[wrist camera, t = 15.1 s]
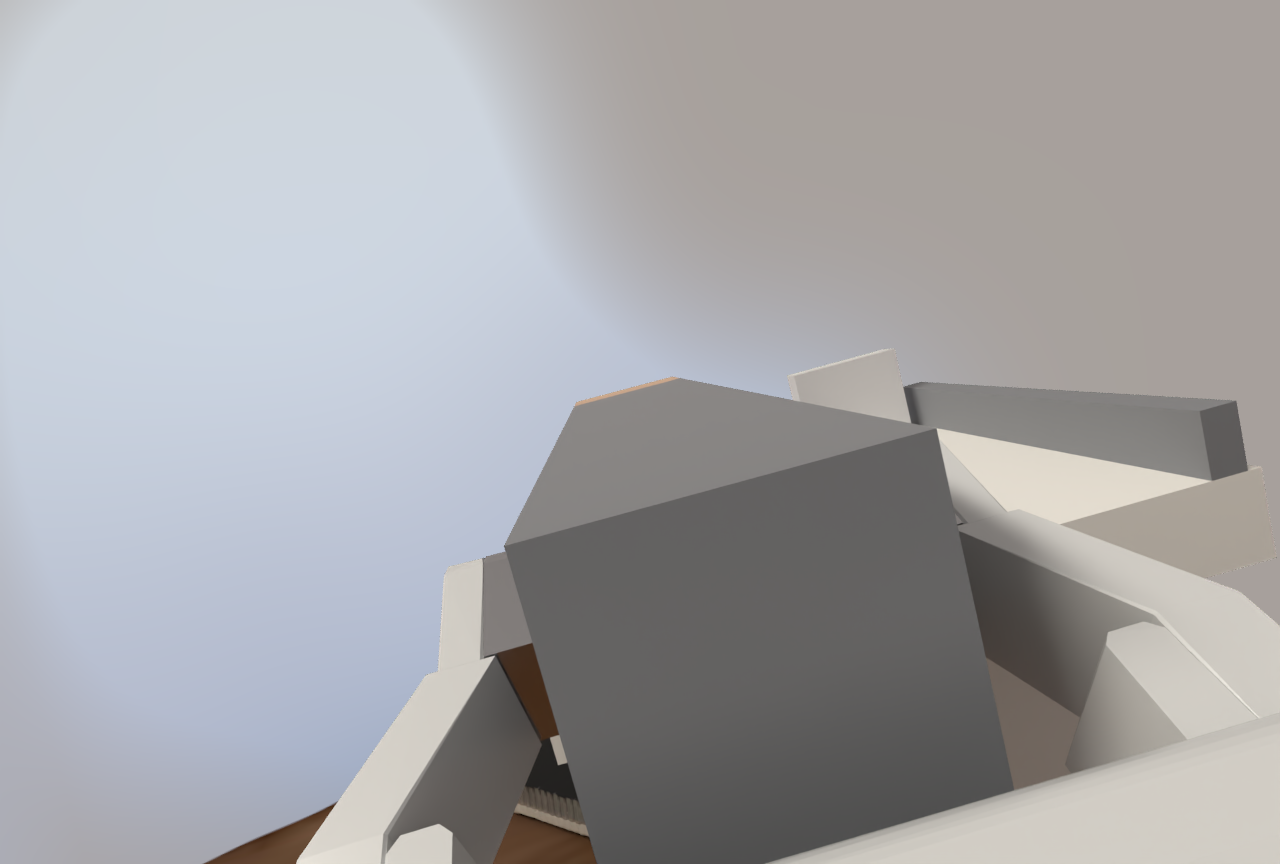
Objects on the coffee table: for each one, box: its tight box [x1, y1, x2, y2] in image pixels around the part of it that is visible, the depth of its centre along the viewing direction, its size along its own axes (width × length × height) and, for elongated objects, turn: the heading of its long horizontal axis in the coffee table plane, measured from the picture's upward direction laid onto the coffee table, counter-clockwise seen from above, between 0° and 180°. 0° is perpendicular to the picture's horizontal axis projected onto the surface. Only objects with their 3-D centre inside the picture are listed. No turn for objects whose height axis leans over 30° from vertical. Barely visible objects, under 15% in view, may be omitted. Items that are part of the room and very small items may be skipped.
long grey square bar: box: [504, 377, 1014, 864], centre depth 16 cm, size 4×20×4 cm, turn 3°
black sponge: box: [514, 738, 589, 837], centre depth 54 cm, size 16×8×4 cm, turn 51°
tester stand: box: [550, 349, 1277, 790], centre depth 22 cm, size 16×14×29 cm
